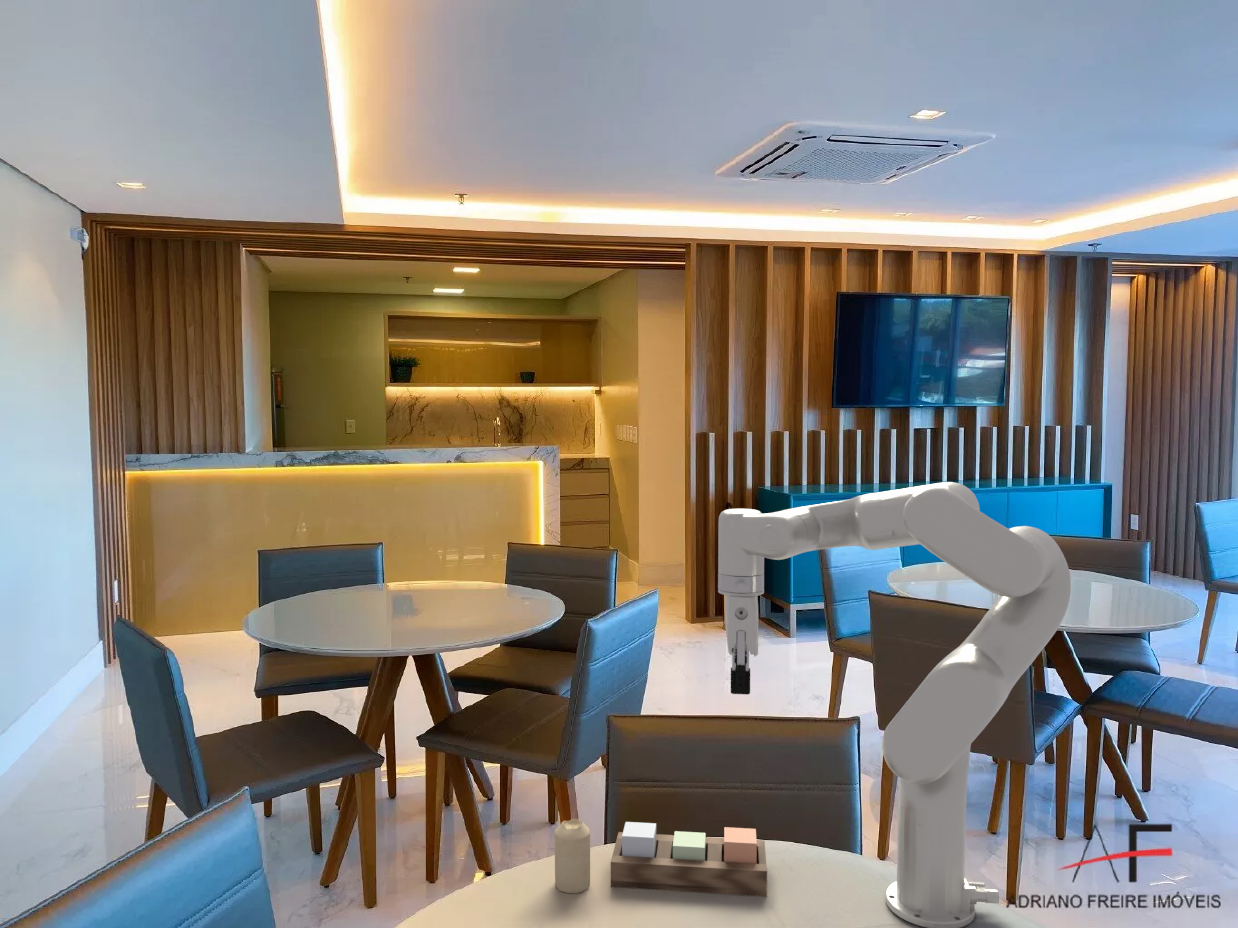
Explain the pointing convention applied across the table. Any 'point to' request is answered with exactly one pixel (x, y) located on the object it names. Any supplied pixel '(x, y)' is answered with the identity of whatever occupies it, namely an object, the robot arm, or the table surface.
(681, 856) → the sage button
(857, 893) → the table surface
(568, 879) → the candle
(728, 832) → the terracotta button
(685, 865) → the button panel
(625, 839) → the greyblue button
